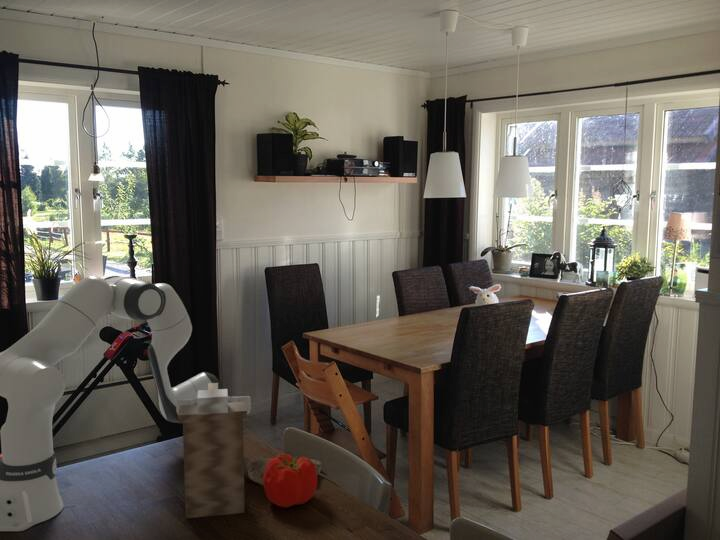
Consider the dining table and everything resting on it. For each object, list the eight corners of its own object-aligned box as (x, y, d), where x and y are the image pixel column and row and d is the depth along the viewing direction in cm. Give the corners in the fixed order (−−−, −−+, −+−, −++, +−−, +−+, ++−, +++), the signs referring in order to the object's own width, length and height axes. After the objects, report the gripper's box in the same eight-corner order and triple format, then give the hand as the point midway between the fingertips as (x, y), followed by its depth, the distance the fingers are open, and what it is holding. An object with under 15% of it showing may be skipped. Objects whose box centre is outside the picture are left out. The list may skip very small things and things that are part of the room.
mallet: (197, 414, 155) (197, 398, 155) (199, 394, 170) (199, 379, 170) (227, 412, 157) (227, 396, 156) (227, 392, 172) (226, 377, 171)
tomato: (253, 506, 165) (252, 461, 163) (287, 484, 177) (287, 442, 175) (297, 520, 158) (296, 473, 157) (329, 496, 170) (329, 453, 169)
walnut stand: (181, 519, 158) (177, 415, 155) (182, 506, 165) (179, 405, 162) (248, 513, 161) (247, 410, 158) (247, 500, 168) (246, 401, 165)
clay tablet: (238, 486, 177) (310, 491, 173) (237, 468, 176) (310, 473, 172) (255, 466, 190) (323, 470, 187) (255, 449, 190) (323, 453, 186)
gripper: (177, 401, 189) (173, 390, 177) (249, 397, 194) (251, 386, 181) (177, 423, 187) (173, 414, 174) (250, 419, 191) (251, 409, 179)
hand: (213, 400), depth 178 cm, fingers open, 8 cm apart
